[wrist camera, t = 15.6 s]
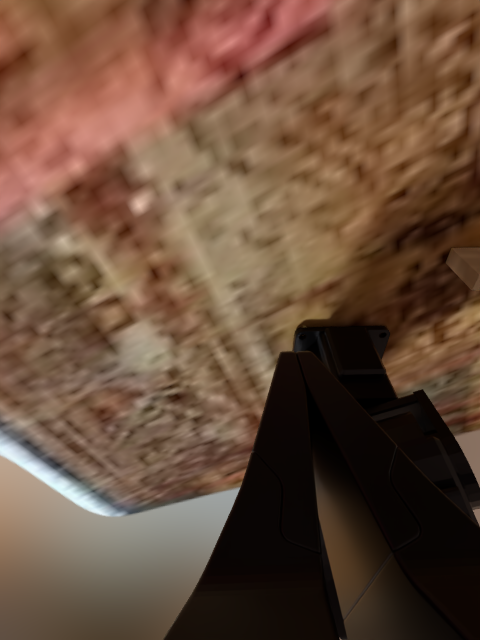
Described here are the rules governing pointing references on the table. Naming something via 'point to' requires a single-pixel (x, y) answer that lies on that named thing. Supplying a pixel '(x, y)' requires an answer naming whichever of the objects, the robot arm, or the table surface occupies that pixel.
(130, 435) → the table surface
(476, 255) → the frame
